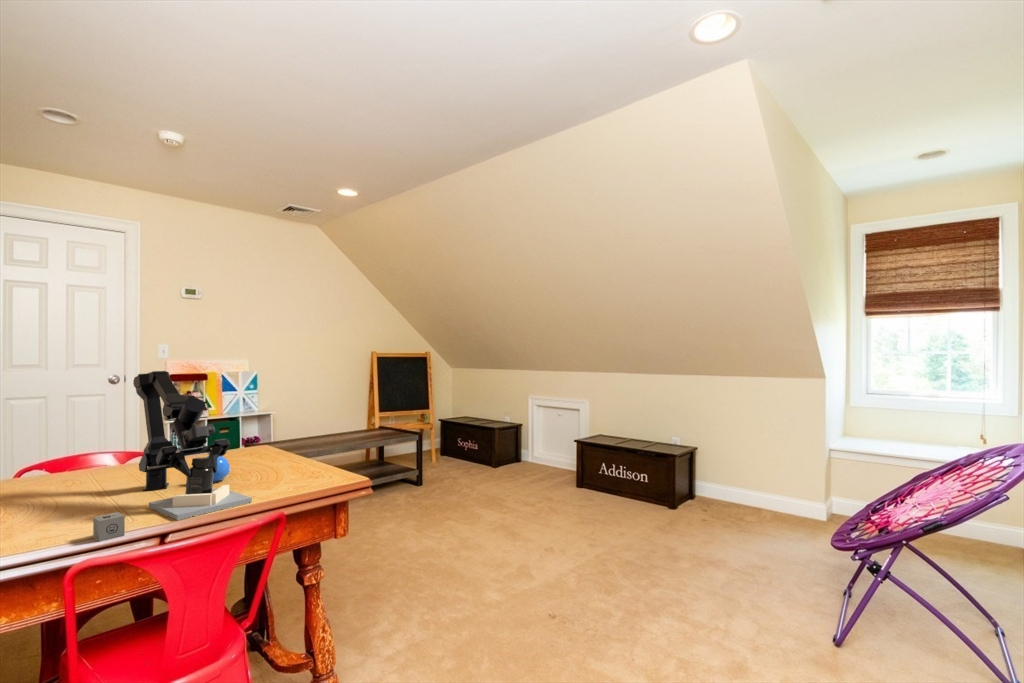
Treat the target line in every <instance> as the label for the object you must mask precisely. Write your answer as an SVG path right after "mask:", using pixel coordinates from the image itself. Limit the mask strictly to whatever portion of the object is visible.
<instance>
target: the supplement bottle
mask: <svg viewBox="0 0 1024 683" xmlns="http://www.w3.org/2000/svg"><path fill="white" fill-rule="evenodd" d="M210 464H211V458H208V457H207V456H206V457H205V456H203V457H194V458H192V459H191V467H190V468H189V469H190V472H191V477H190V478H189V477H187V476H186V482H185V494H207V493H212V489H213V488H214V487H213V486H214V485H213V484H214V482H213V475H214V469H213V468H212V467H210ZM185 494H184V495H185Z"/></svg>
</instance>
